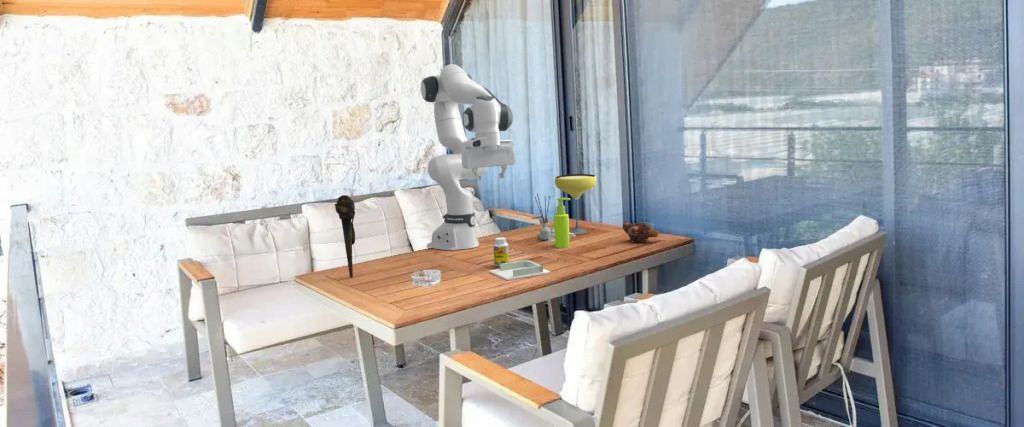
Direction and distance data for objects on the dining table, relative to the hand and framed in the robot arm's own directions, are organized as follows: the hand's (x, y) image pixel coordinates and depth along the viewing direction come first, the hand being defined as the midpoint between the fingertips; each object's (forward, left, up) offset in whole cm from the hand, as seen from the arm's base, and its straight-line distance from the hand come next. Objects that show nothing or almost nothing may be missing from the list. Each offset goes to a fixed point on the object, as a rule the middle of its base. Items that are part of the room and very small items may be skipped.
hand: (490, 179), depth 291 cm
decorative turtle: (+37, +57, -33) cm, 76 cm away
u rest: (+13, -6, -33) cm, 36 cm away
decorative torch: (-44, -29, -33) cm, 62 cm away
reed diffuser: (-4, +50, -33) cm, 60 cm away
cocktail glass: (+4, +69, -33) cm, 77 cm away
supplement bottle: (+1, +3, -33) cm, 33 cm away
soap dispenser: (+10, +40, -33) cm, 53 cm away
